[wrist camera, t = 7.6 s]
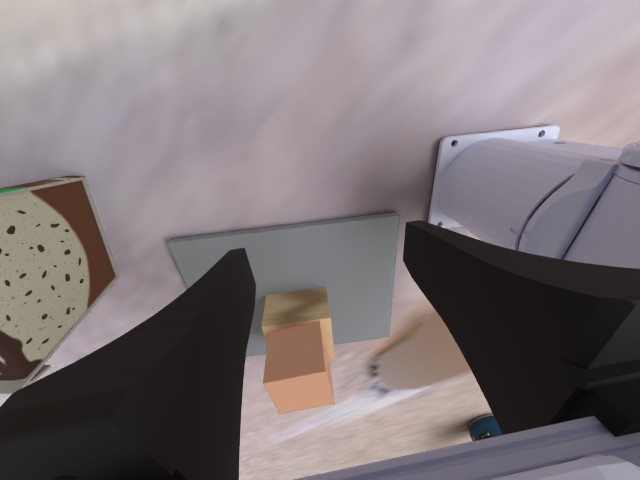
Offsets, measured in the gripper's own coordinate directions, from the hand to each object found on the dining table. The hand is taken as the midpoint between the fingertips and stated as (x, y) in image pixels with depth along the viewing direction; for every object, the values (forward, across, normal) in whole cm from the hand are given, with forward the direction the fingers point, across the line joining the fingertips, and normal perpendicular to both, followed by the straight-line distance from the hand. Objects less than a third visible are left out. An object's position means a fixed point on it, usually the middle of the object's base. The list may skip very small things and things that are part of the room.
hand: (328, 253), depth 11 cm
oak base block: (+10, +3, +13) cm, 17 cm away
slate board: (+10, +3, +11) cm, 16 cm away
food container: (+11, +20, +1) cm, 23 cm away
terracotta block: (+6, +3, +13) cm, 14 cm away
